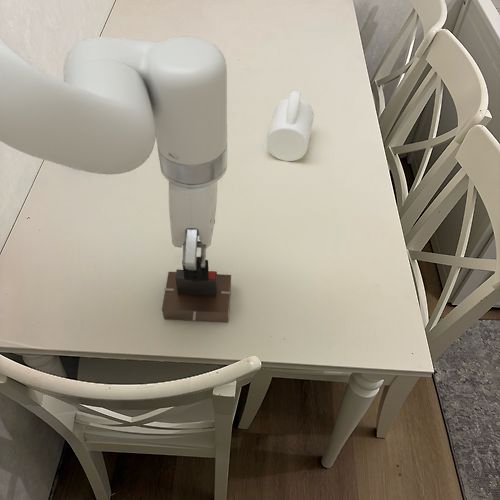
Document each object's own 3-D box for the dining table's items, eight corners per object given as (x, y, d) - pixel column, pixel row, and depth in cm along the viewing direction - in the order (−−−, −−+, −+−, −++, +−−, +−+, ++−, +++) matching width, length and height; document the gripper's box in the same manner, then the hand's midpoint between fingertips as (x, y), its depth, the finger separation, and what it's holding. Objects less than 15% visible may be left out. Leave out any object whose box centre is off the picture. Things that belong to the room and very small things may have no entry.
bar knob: (177, 294, 74) (174, 277, 71) (178, 286, 75) (176, 268, 72) (216, 296, 74) (216, 279, 71) (217, 288, 75) (216, 270, 72)
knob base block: (161, 328, 74) (159, 318, 72) (170, 273, 80) (169, 262, 78) (228, 331, 74) (228, 321, 72) (232, 277, 80) (232, 266, 78)
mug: (264, 158, 99) (269, 108, 89) (273, 126, 105) (277, 77, 96) (304, 164, 98) (313, 115, 89) (310, 132, 104) (319, 83, 95)
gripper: (170, 105, 59) (181, 202, 72) (146, 211, 48) (164, 301, 62) (231, 108, 59) (231, 205, 72) (221, 215, 48) (223, 304, 62)
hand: (200, 249), depth 67 cm, fingers open, 9 cm apart
